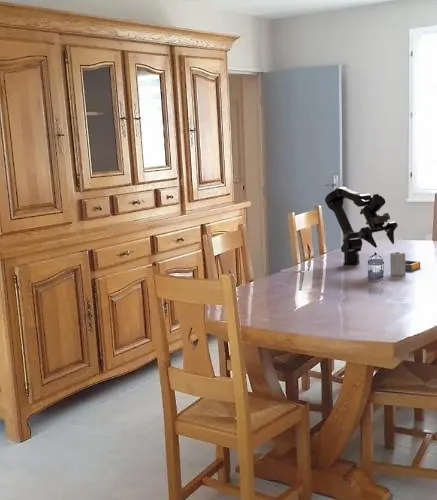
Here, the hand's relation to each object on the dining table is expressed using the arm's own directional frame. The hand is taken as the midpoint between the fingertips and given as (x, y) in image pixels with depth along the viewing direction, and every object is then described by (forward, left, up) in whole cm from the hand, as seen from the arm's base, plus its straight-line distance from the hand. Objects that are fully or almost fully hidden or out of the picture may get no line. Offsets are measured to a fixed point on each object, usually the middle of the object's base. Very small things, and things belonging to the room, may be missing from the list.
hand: (384, 245), depth 302 cm
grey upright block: (+7, -5, -12) cm, 15 cm away
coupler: (+7, +9, -12) cm, 17 cm away
